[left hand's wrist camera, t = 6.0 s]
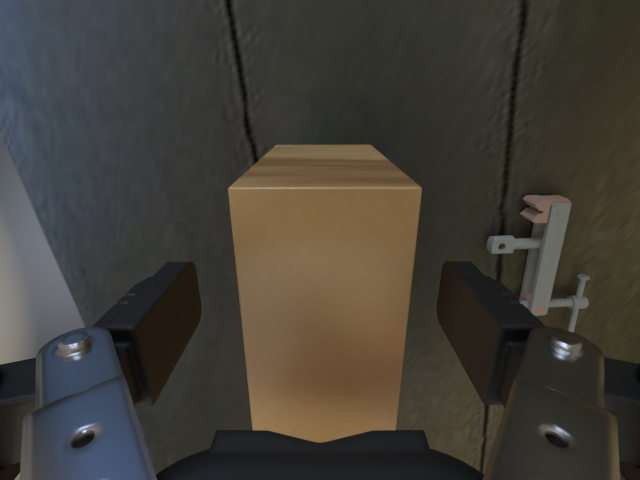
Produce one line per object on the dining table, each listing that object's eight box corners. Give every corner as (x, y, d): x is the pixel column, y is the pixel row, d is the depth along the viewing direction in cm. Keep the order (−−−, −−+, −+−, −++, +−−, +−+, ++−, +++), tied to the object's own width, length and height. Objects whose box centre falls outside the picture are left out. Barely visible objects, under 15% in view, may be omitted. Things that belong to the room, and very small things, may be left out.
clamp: (501, 203, 29) (624, 197, 28) (489, 196, 31) (603, 191, 30) (480, 349, 34) (582, 345, 34) (471, 335, 36) (567, 331, 36)
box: (275, 144, 21) (227, 187, 10) (371, 144, 21) (422, 187, 10) (289, 430, 30) (271, 614, 19) (356, 431, 30) (375, 614, 19)
